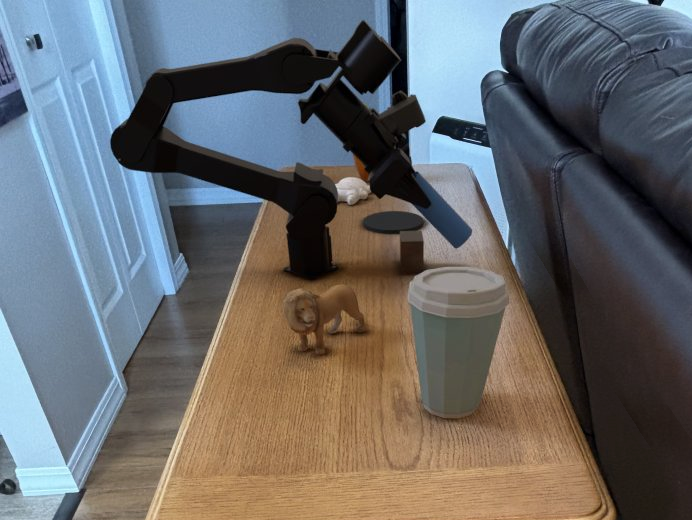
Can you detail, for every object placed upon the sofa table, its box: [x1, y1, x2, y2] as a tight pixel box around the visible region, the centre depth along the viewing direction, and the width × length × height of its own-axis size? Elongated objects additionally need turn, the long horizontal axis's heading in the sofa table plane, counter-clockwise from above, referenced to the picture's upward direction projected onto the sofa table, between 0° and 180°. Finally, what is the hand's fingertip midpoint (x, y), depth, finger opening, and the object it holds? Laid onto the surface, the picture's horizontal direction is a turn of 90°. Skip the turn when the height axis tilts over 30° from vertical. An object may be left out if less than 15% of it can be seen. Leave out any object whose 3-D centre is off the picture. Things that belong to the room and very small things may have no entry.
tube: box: [410, 170, 473, 249], centre depth 112 cm, size 11×4×11 cm, turn 92°
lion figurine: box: [282, 284, 366, 356], centre depth 94 cm, size 15×5×9 cm, turn 150°
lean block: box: [399, 230, 425, 275], centre depth 116 cm, size 4×5×5 cm
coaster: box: [362, 210, 425, 234], centre depth 134 cm, size 11×11×1 cm
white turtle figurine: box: [334, 176, 372, 206], centre depth 147 cm, size 9×12×3 cm
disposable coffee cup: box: [407, 266, 510, 419], centre depth 79 cm, size 11×11×15 cm
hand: (428, 202), depth 111 cm, fingers closed on tube, 4 cm apart
